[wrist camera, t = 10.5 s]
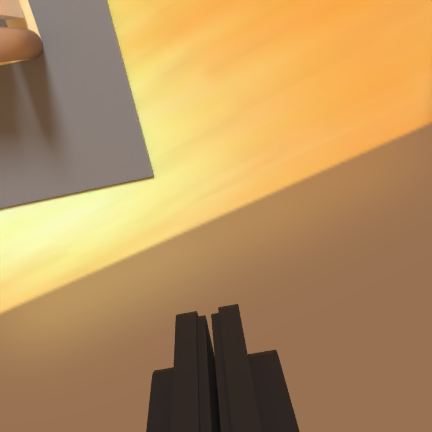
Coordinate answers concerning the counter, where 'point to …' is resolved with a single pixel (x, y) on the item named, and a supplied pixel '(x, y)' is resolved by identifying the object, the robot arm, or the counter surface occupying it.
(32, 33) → the fence fixed
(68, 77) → the card
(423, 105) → the counter surface
